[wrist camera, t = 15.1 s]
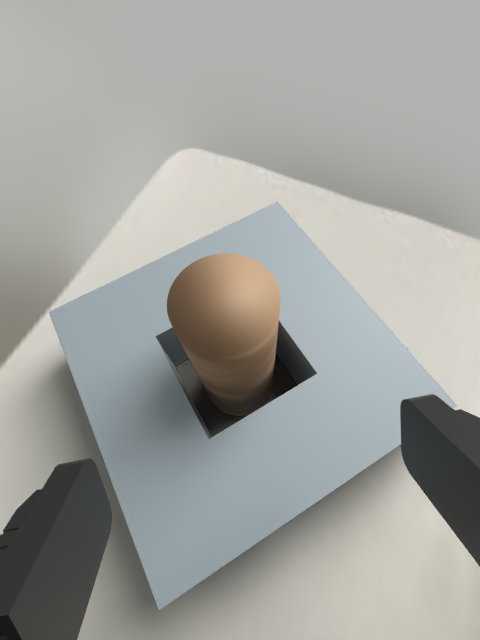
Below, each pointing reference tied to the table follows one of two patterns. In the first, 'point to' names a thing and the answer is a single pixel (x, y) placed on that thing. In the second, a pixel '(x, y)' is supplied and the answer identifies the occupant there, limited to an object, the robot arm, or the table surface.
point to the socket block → (250, 432)
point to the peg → (228, 328)
